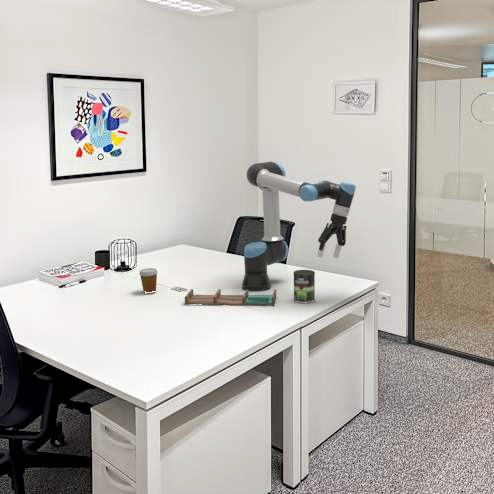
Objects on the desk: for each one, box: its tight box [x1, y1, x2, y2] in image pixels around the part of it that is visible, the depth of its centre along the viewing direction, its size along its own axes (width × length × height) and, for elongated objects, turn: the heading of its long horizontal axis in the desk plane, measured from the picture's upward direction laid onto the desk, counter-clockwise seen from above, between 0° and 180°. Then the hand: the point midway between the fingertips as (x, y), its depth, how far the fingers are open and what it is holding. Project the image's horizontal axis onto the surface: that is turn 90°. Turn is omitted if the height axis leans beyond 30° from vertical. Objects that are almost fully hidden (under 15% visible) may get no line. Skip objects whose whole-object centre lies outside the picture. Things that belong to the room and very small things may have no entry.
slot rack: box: [184, 288, 277, 307], centre depth 291 cm, size 14×43×4 cm, turn 82°
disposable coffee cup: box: [139, 267, 159, 292], centre depth 310 cm, size 10×10×12 cm
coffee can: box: [293, 269, 316, 304], centre depth 287 cm, size 10×10×14 cm
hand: (327, 257), depth 285 cm, fingers open, 13 cm apart
